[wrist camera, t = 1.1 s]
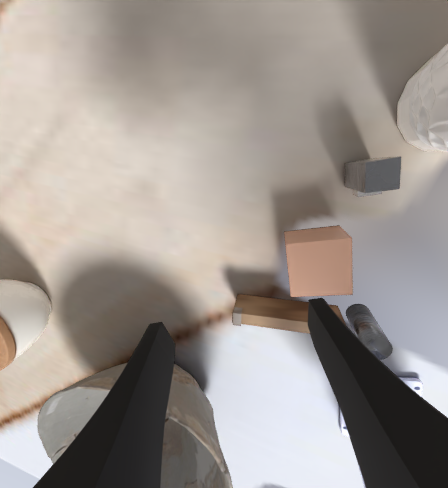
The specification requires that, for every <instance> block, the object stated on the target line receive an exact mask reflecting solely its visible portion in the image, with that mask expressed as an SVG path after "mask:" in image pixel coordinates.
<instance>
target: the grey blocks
mask: <svg viewBox="0 0 448 488" xmlns="http://www.w3.org/2000/svg"><path fill="white" fill-rule="evenodd" d="M400 169H401V157H388V158H373V159H366V160H360V161H354V162H348V163H345V187H347V188H350V189H353V195H354V196H357V197H361V196H368V195H376V194H382V191H386V190H393V189H399V188H400ZM346 316H347V318H348V320H349V322H350V325H351V327H352V329H353V331H354V333H355V335H356V337H357V338H358V339H359V340H360V341H361V342H362V343H363V344H364V345H365V346H366V347H367V348H368V349H369V350H370V351H371V352H372V353H373V354H374V355H375V356H376V357H377V358H378V359H379V360H381V359H385V358H387V357H388V356H390V355H391V353H392V350H393V348H392V345H391V344H390V342H389V340H388V339H387V337H386V336H385V334H384V333H383V331H382V330H381V328H380V326H379V325H378V323H377V322H376V320H375V319H374V317H373V315H372V314H371V312H370V311H369V309H368V308H367V307H366V306H365V305H362V304H354V305H352V306H350V307H349V308H348V309H347V310H346Z"/></svg>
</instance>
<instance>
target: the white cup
mask: <svg viewBox="0 0 448 488" xmlns="http://www.w3.org/2000/svg"><path fill="white" fill-rule="evenodd" d="M397 126H398V128H399V130H400V132H401V133H402V135H403V137H404V139H405V141H406V142H407V143H409V144H411V145H413V146H415V147H417V148H419V149H420V150H422V151H445V152H448V44H447V45H446V46H444V47H443V48H442V49H441V50H440V51H439V52H438V53H437V54H436V55H434V56H433V57H432V58H431V59H429V60H428V61H427V62H426V63H425V64H424V65H423V66H422V67H421V68H420V69H419V70H418V71H417V72H416V73H415V74H414V75H413V76H412V77H411V78H410V79H409V80H408V82H407V84H406V86H405V88H404V91H403V93H402V95H401V97H400V99H399V101H398V104H397Z"/></svg>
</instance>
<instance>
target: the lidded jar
mask: <svg viewBox="0 0 448 488" xmlns="http://www.w3.org/2000/svg"><path fill="white" fill-rule="evenodd" d="M51 310H52V306H51V302H50V299H49V297H48V296H47V294H46V293H45V292H44V291H43V290H42V289H41V288H40V287H39V286H37V285H35V284H33V283H30V282H22V281H17V280H7V279H3V280H0V370H2V369H4V368H5V367H7V366H8V365H9V364H10V363H11V362H12V361H13V360H14V359H16V358H17V357H18V356H20V355H21V354H22V353H24V352H25V351H26V350H27V349H28V348H29V347H30V346H32V345H33V344H34V343H35V342H36V341H37V339H38V338H39V337H40V336H41V335H42V333H43V332H44V330H45V328H46V326H47V324H48V320H49V315H50V313H51Z"/></svg>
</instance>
